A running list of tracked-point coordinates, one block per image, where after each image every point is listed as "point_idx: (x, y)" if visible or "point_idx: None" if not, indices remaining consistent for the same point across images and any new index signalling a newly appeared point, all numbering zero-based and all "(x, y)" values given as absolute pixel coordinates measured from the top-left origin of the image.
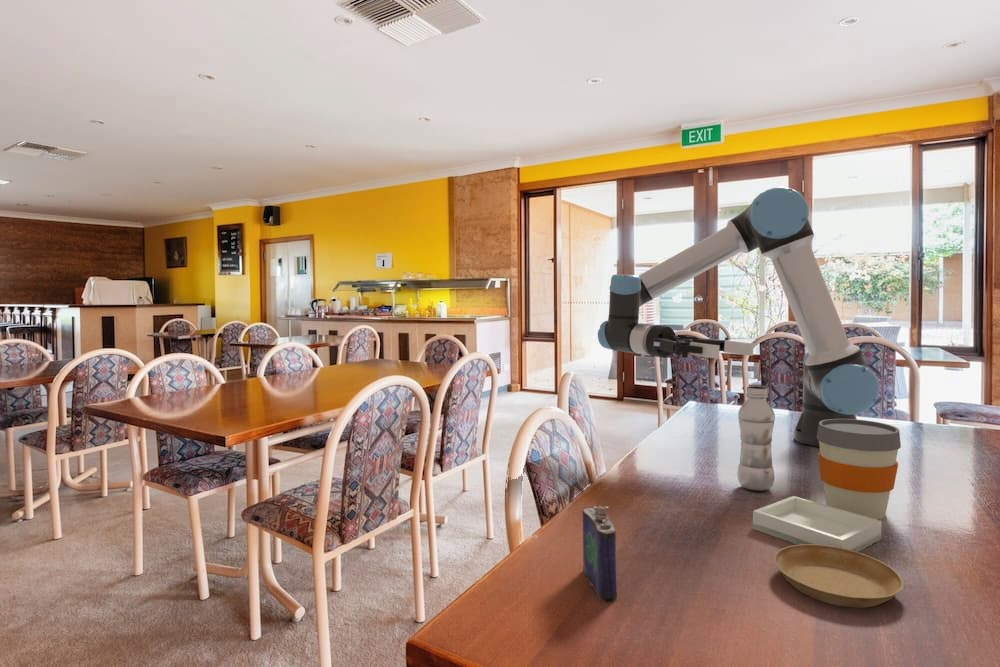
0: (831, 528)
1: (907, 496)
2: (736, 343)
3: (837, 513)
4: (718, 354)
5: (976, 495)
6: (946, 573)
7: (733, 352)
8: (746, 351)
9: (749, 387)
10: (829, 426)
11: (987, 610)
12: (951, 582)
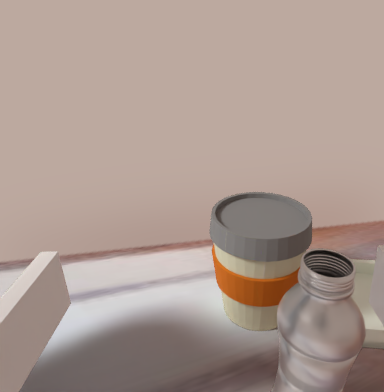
0: (355, 293)
1: (155, 288)
2: (14, 320)
3: None
4: (375, 285)
5: (105, 257)
6: (332, 240)
7: (19, 382)
8: (56, 305)
9: (332, 279)
10: (272, 236)
11: (361, 223)
12: (343, 236)
